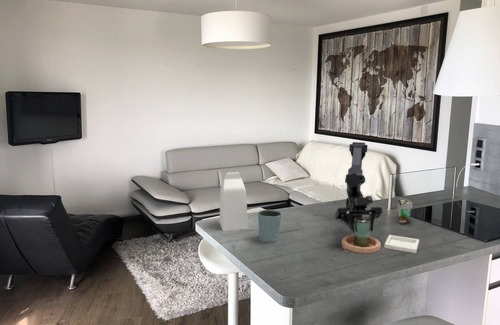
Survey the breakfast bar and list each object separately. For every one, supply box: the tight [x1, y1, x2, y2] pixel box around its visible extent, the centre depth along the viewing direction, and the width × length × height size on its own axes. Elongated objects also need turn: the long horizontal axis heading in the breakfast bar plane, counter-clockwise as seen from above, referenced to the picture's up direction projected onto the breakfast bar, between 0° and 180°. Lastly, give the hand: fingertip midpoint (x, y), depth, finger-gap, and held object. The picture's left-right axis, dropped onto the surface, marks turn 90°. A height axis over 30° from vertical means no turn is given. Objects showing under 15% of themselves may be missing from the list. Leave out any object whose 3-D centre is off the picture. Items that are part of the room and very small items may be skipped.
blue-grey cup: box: [257, 209, 282, 244], centre depth 173 cm, size 10×10×12 cm
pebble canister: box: [353, 216, 371, 247], centre depth 164 cm, size 6×6×11 cm
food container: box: [396, 197, 414, 225], centre depth 197 cm, size 12×6×10 cm, turn 168°
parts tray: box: [384, 234, 420, 254], centre depth 165 cm, size 12×12×2 cm
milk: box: [219, 171, 249, 232], centre depth 189 cm, size 12×12×26 cm
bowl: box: [341, 234, 382, 254], centre depth 165 cm, size 15×15×3 cm
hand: (362, 231), depth 162 cm, fingers open, 7 cm apart
